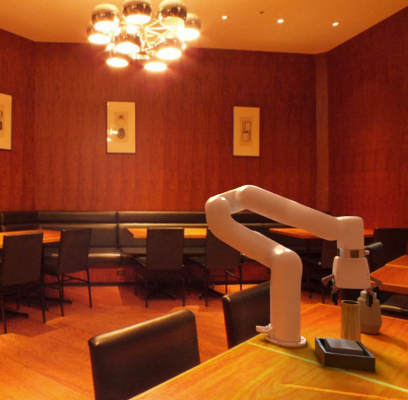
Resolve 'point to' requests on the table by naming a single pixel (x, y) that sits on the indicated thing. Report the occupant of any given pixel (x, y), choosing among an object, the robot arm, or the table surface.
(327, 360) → the crate
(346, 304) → the vase
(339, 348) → the block
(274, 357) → the table surface
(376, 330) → the squeeze bottle
